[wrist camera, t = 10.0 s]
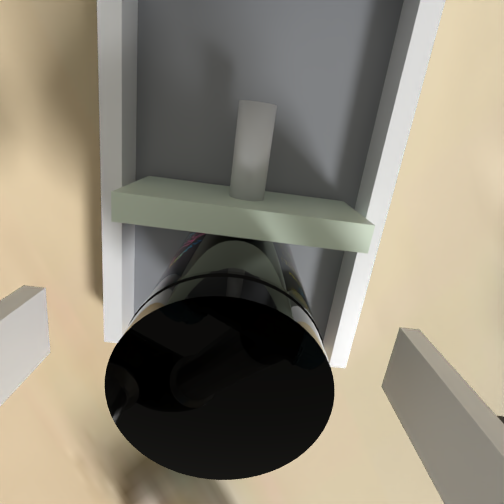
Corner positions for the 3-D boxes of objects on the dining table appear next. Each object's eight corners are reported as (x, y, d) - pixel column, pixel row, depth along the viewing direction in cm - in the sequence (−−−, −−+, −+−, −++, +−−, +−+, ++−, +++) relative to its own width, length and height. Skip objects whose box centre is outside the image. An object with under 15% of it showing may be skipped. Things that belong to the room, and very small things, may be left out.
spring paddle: (338, 222, 18) (367, 253, 14) (148, 198, 18) (111, 221, 13) (360, 122, 17) (403, 118, 12) (151, 92, 16) (109, 75, 12)
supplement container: (244, 183, 18) (234, 244, 8) (317, 273, 20) (380, 412, 10) (154, 257, 19) (54, 384, 10) (229, 334, 21) (209, 509, 11)
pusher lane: (335, 344, 22) (374, 442, 15) (119, 319, 21) (55, 410, 14) (443, -83, 15) (619, -281, 8) (118, -138, 14) (-15, -407, 7)
